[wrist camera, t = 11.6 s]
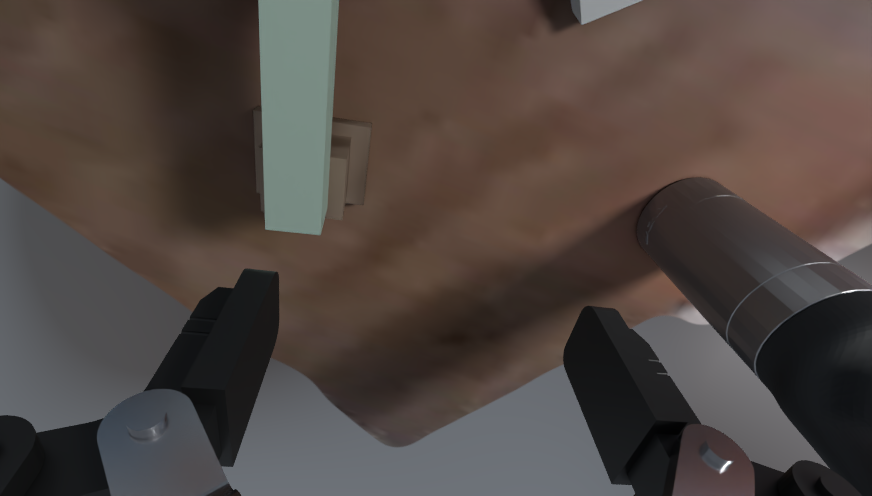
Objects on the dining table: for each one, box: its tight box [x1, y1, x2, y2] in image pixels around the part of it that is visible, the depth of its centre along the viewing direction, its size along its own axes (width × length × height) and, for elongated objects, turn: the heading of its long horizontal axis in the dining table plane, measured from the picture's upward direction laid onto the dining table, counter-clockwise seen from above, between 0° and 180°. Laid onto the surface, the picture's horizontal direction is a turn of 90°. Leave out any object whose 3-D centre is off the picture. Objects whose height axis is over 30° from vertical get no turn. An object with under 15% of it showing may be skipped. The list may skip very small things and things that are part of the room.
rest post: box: [253, 106, 372, 220], centre depth 34 cm, size 9×7×6 cm
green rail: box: [258, 0, 339, 235], centre depth 25 cm, size 4×24×4 cm, turn 169°
